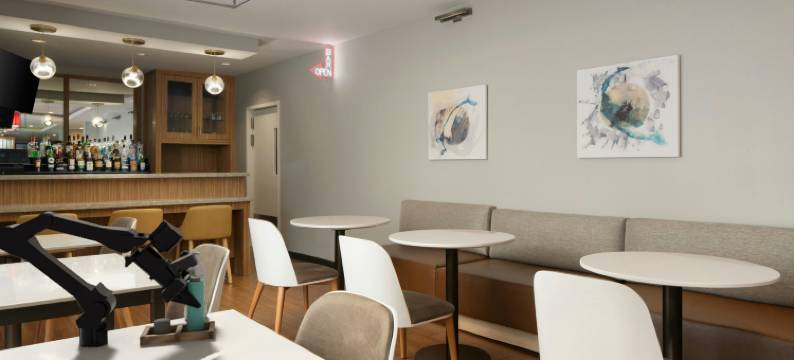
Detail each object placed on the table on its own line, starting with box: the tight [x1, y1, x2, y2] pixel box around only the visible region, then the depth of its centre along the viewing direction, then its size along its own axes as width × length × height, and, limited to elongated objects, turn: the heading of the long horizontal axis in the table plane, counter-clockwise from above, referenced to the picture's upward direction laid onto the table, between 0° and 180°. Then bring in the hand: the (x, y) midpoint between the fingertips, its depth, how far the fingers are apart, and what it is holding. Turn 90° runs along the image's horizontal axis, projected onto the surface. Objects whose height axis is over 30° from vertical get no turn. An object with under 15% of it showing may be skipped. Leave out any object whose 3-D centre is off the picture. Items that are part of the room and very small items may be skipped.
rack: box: [139, 320, 216, 346], centre depth 148 cm, size 18×9×3 cm, turn 106°
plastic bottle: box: [183, 252, 208, 321], centre depth 164 cm, size 6×7×20 cm
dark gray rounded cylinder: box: [153, 317, 171, 335], centre depth 146 cm, size 4×4×4 cm
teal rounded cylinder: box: [186, 277, 205, 332], centre depth 148 cm, size 4×4×14 cm
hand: (200, 304), depth 149 cm, fingers closed on teal rounded cylinder, 4 cm apart
